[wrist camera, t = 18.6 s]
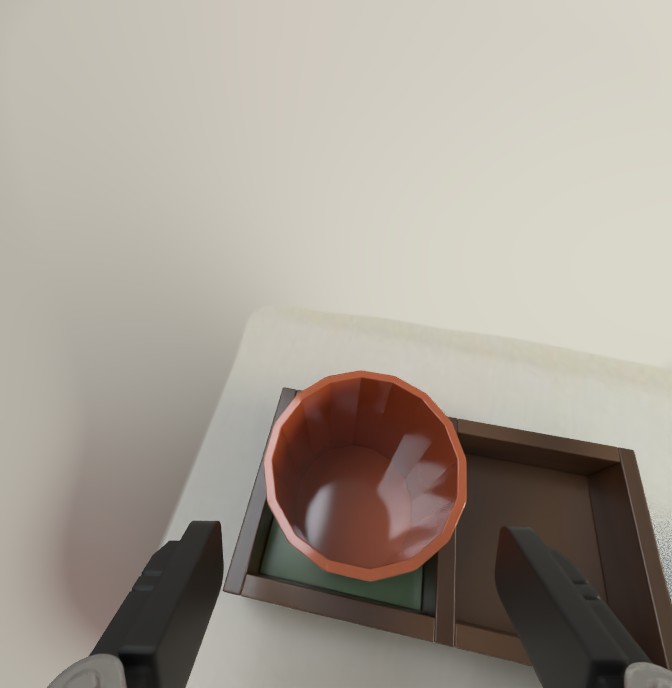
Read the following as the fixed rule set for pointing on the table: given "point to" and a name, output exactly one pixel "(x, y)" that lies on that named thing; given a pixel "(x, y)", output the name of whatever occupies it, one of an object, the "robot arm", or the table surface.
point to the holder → (485, 547)
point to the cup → (365, 475)
